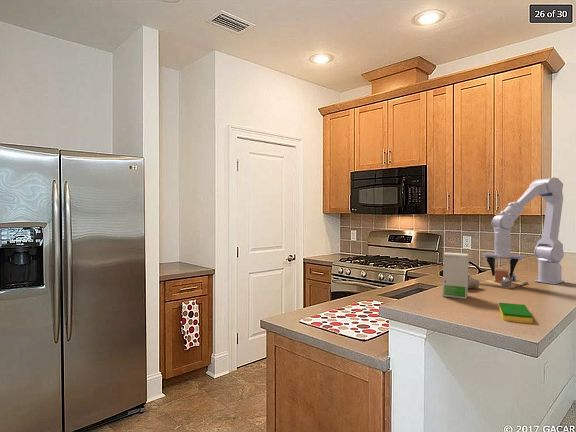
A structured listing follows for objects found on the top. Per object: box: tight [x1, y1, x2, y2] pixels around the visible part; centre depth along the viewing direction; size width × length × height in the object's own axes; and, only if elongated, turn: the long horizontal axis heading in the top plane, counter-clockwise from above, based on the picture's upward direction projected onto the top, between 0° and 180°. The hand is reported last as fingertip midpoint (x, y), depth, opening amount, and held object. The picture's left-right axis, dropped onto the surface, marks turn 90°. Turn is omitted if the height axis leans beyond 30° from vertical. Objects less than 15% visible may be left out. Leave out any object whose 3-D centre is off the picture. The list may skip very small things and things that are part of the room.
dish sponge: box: [498, 302, 533, 324], centre depth 113 cm, size 7×14×2 cm, turn 155°
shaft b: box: [500, 276, 511, 286], centre depth 152 cm, size 4×3×3 cm
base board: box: [479, 278, 529, 290], centre depth 159 cm, size 17×12×1 cm
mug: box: [468, 274, 481, 289], centre depth 151 cm, size 8×10×10 cm
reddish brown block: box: [494, 268, 510, 283], centre depth 158 cm, size 4×4×5 cm
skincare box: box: [442, 251, 469, 300], centre depth 138 cm, size 8×7×16 cm
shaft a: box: [509, 272, 517, 281], centre depth 162 cm, size 5×3×3 cm
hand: (502, 276), depth 158 cm, fingers open, 6 cm apart
